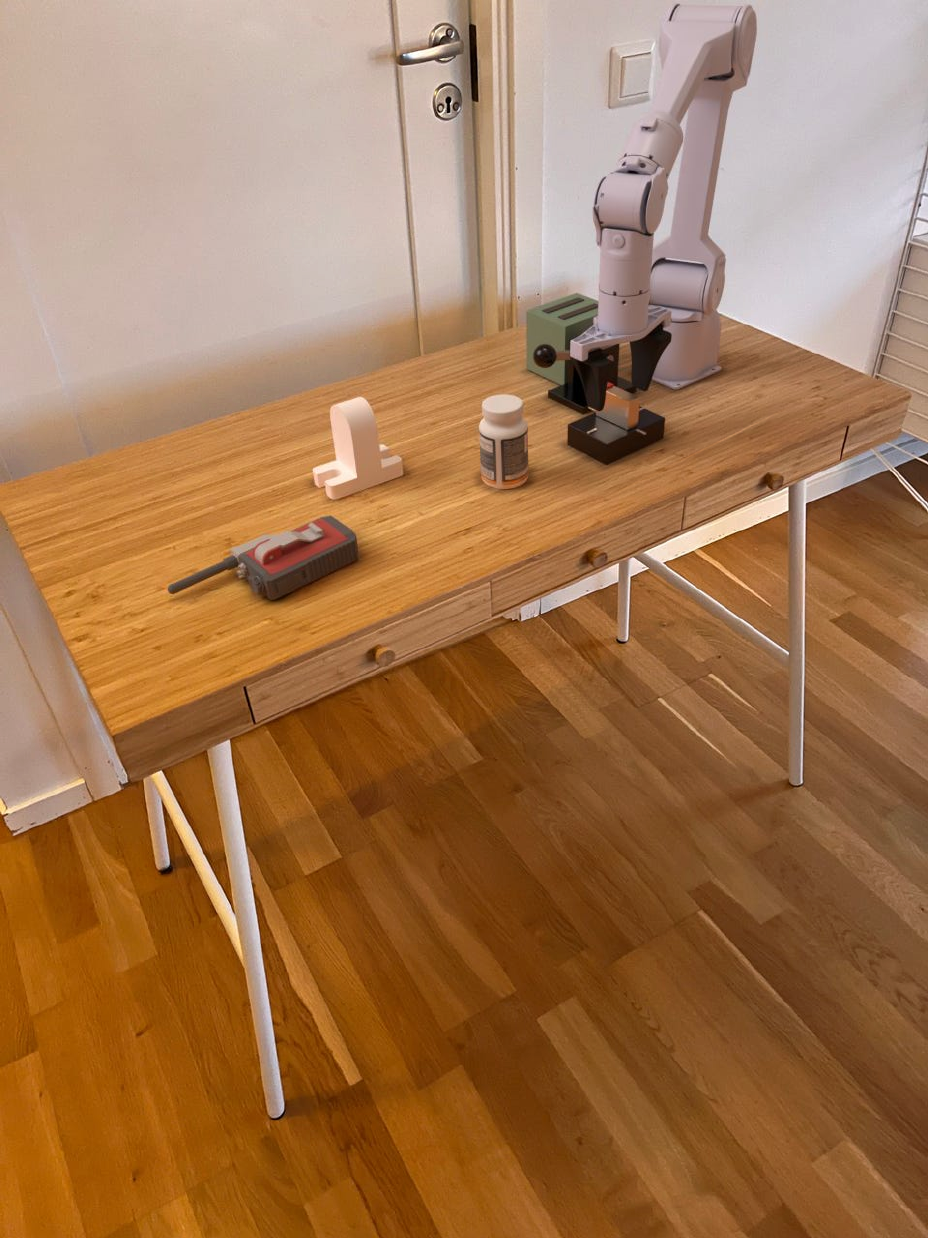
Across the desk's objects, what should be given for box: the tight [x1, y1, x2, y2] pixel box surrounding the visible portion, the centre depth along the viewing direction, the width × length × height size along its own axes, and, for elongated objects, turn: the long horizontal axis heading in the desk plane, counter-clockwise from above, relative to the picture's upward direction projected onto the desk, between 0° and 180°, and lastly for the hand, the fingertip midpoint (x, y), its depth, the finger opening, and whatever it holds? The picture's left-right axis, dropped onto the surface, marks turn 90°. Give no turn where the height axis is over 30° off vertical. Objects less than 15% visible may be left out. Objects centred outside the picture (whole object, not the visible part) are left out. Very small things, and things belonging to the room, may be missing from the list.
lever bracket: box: [547, 337, 638, 416], centre depth 129 cm, size 10×7×8 cm
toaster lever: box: [533, 344, 571, 368], centre depth 125 cm, size 12×3×3 cm, turn 127°
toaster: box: [525, 292, 598, 386], centre depth 135 cm, size 10×8×9 cm
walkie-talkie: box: [167, 515, 360, 601], centre depth 100 cm, size 9×4×20 cm
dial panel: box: [566, 405, 666, 466], centre depth 120 cm, size 10×10×3 cm
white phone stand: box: [312, 396, 404, 501], centre depth 113 cm, size 5×10×10 cm, turn 124°
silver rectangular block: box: [596, 382, 641, 430], centre depth 117 cm, size 6×2×4 cm, turn 39°
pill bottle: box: [478, 393, 529, 490], centre depth 112 cm, size 6×6×10 cm
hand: (618, 397), depth 117 cm, fingers open, 7 cm apart
